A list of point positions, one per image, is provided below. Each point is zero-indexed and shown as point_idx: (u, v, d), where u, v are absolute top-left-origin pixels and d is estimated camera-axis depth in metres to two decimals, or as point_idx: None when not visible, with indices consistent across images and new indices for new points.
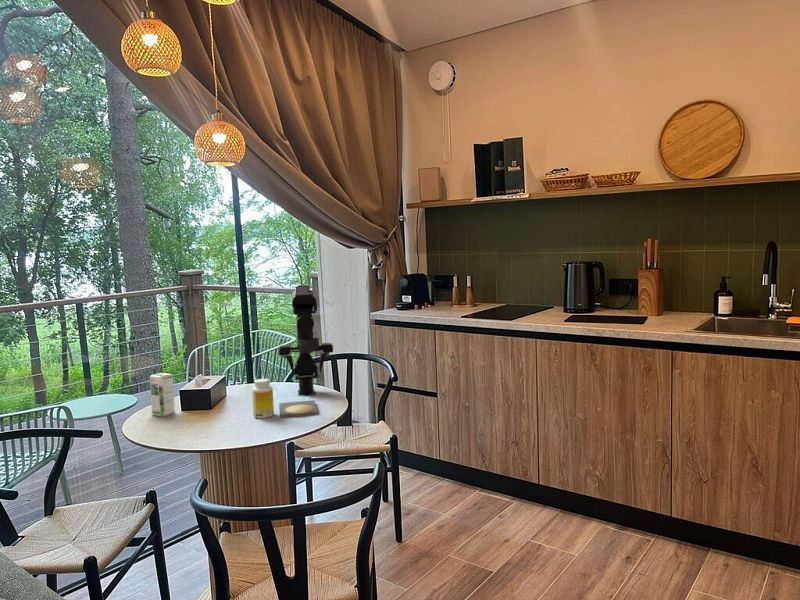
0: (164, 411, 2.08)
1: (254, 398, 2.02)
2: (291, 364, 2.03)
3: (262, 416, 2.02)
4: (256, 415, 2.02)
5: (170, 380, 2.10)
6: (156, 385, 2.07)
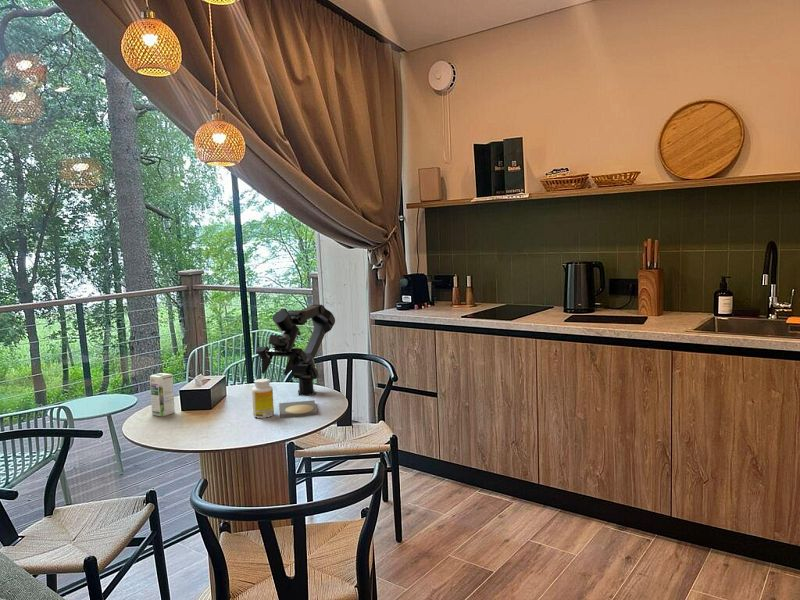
0: (164, 411, 2.08)
1: (254, 398, 2.02)
2: (263, 362, 2.14)
3: (262, 416, 2.02)
4: (256, 415, 2.02)
5: (170, 380, 2.10)
6: (156, 385, 2.07)
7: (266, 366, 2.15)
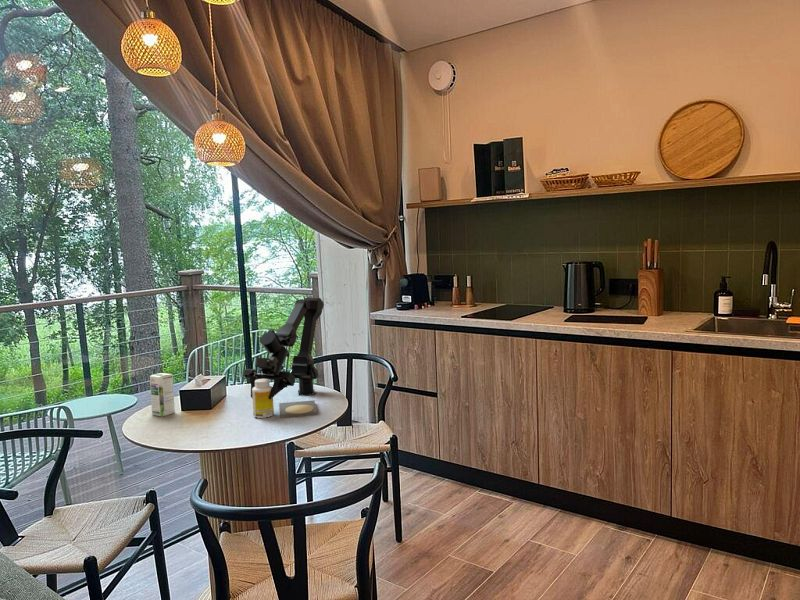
0: (164, 411, 2.08)
1: (254, 398, 2.02)
2: (252, 386, 2.06)
3: (262, 416, 2.02)
4: (256, 415, 2.02)
5: (170, 380, 2.10)
6: (157, 385, 2.07)
7: None
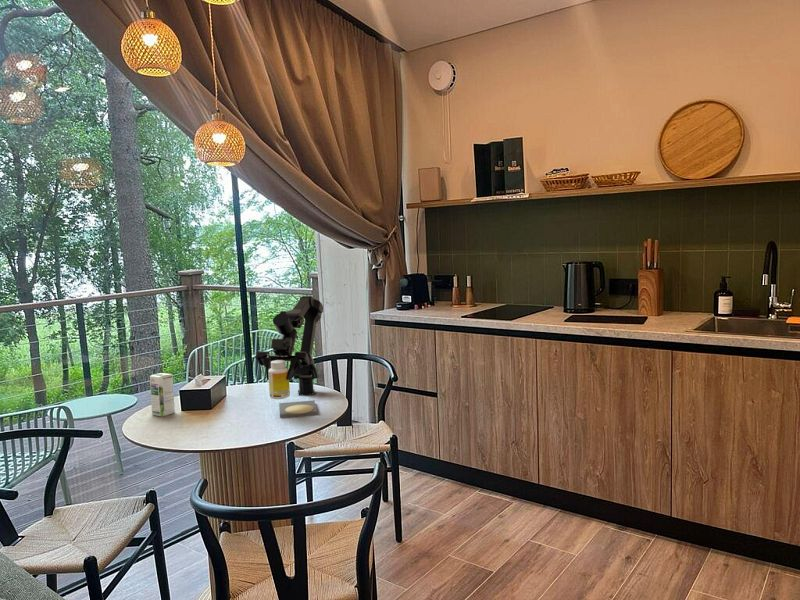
0: (164, 411, 2.08)
1: (271, 379, 2.02)
2: (267, 368, 2.05)
3: (280, 397, 2.02)
4: (274, 396, 2.02)
5: (170, 380, 2.10)
6: (156, 385, 2.07)
7: None
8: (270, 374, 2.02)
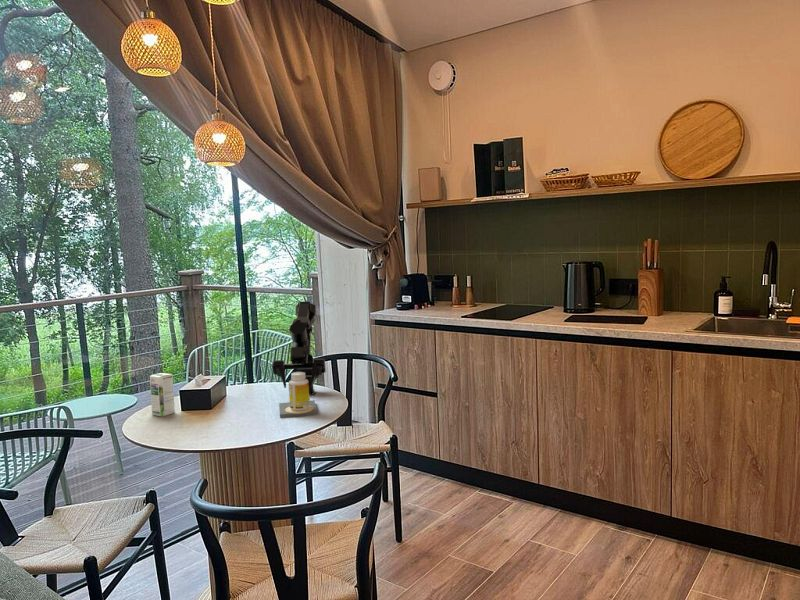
0: (164, 411, 2.08)
1: (294, 391, 2.04)
2: (283, 376, 2.07)
3: (302, 408, 2.05)
4: (296, 408, 2.04)
5: (170, 380, 2.10)
6: (156, 385, 2.07)
7: (285, 380, 2.08)
8: (292, 386, 2.04)
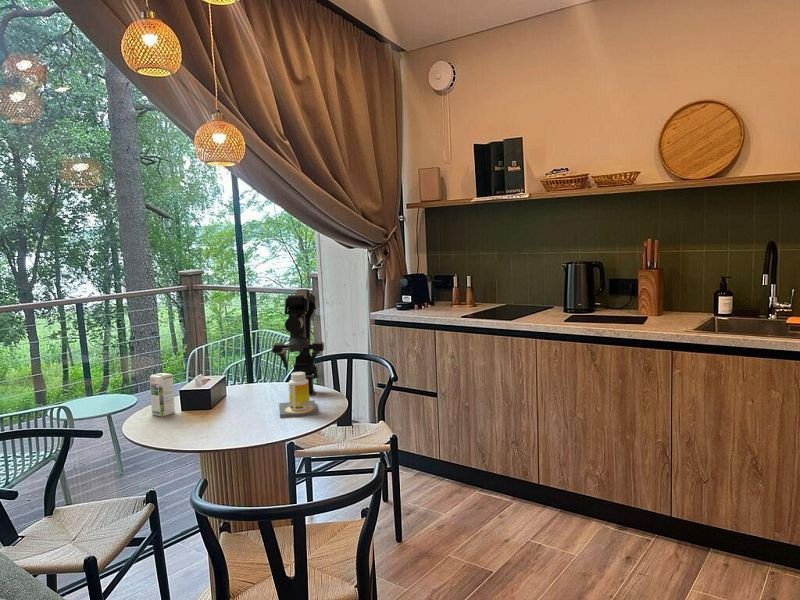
0: (164, 411, 2.08)
1: (294, 391, 2.04)
2: (284, 361, 2.16)
3: (302, 408, 2.05)
4: (296, 408, 2.04)
5: (170, 380, 2.10)
6: (157, 385, 2.07)
7: (286, 361, 2.18)
8: (292, 386, 2.04)
